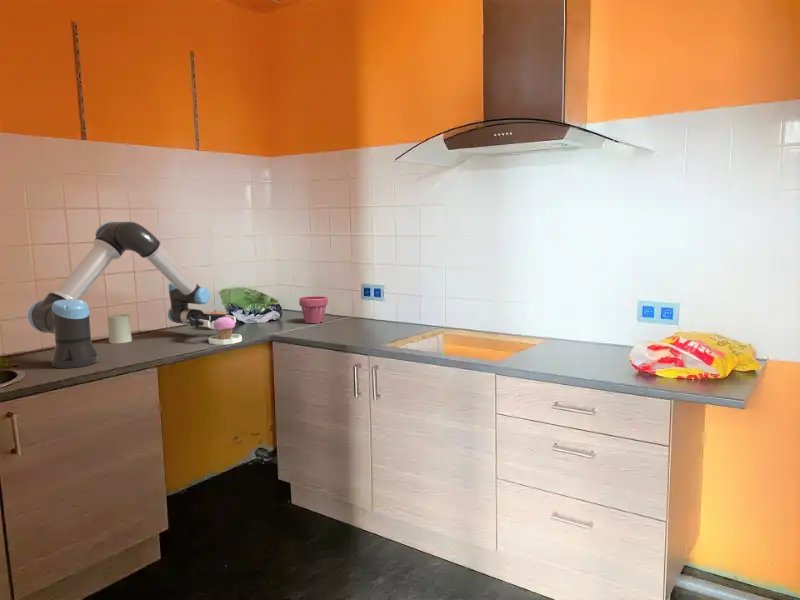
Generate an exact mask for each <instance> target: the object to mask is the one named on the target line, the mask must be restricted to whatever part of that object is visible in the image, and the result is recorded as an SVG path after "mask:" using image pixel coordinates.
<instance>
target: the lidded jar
mask: <svg viewBox="0 0 800 600" xmlns="http://www.w3.org/2000/svg"><path fill="white" fill-rule="evenodd" d="M203 313H204V314H227V313H228V312H227V311H223V310H220V311H219V310H217V309H214V310H213V311H207V312H203ZM209 321H211V318H210V319H209ZM214 322H215V321H212V322H210V327H208V328H209V330H213V331H215V330H216V329H215V328H214ZM216 331H217V330H216Z"/></svg>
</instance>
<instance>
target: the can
mask: <svg viewBox="0 0 800 600" xmlns="http://www.w3.org/2000/svg"><path fill="white" fill-rule="evenodd" d="M106 318H107V326H108V327H107V328H108V343H109V344H113V345H114V344H126V343H129V342H133V338H132V327H131V326H132V325H131V315H130V313H120V314H119V313H118V314H117V313H116V314H110V315H107V317H106Z"/></svg>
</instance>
